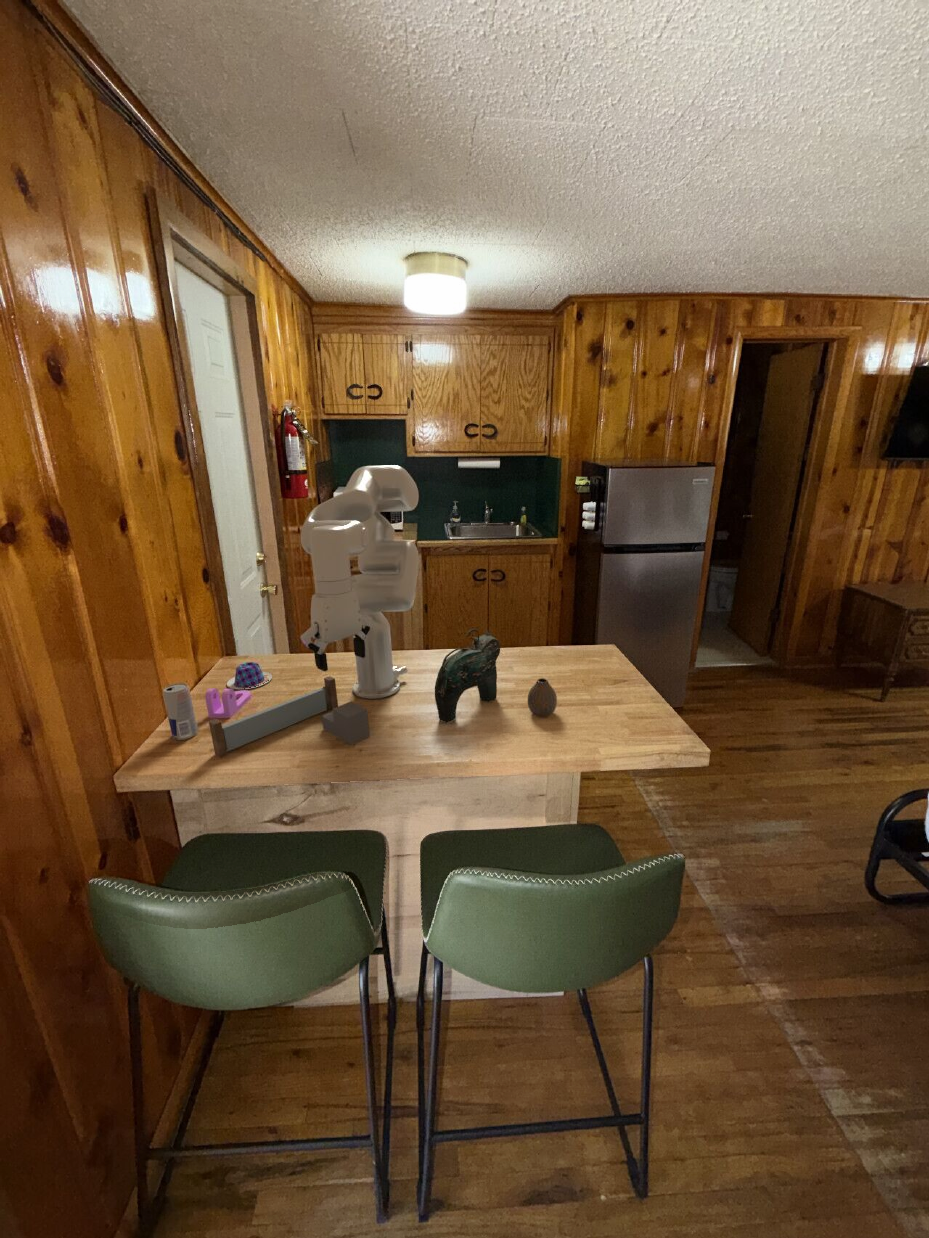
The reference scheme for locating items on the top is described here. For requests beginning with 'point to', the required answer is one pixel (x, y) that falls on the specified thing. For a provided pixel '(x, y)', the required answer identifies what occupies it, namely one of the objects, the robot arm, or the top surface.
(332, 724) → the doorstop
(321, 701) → the grey long flat board
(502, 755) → the top surface
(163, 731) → the top surface
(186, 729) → the energy drink
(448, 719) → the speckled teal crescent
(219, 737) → the frame
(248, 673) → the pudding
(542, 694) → the vase
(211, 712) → the bracket
